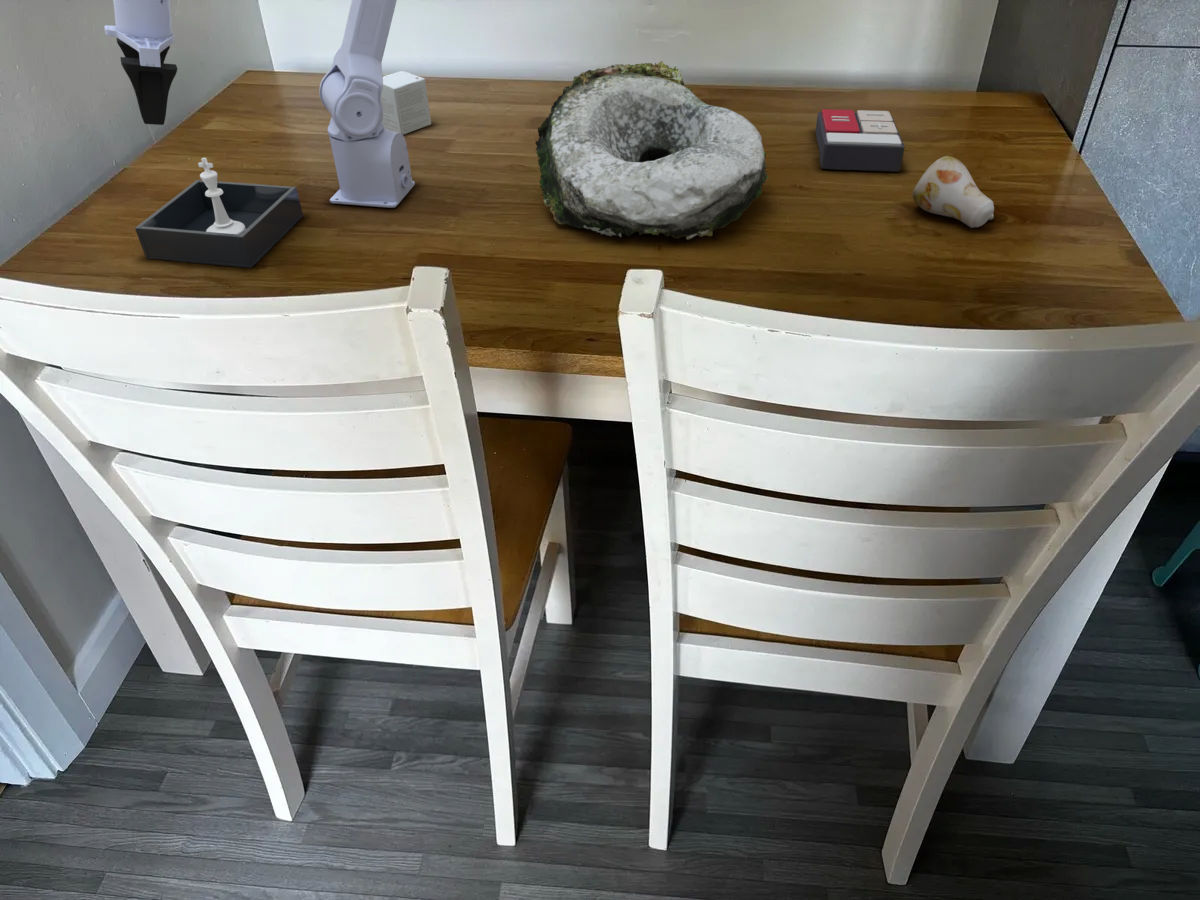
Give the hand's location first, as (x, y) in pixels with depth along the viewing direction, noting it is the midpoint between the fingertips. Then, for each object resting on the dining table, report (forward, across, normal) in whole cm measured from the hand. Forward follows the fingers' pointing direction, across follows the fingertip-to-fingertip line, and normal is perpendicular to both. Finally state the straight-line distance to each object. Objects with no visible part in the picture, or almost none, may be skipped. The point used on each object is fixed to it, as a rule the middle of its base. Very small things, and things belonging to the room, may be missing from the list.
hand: (151, 113), depth 108 cm
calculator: (-6, +19, +93) cm, 95 cm away
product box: (+7, -22, +38) cm, 44 cm away
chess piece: (+14, +5, +7) cm, 16 cm away
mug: (-6, +42, +91) cm, 100 cm away
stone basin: (+2, +20, +59) cm, 63 cm away
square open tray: (+14, +5, +7) cm, 16 cm away
